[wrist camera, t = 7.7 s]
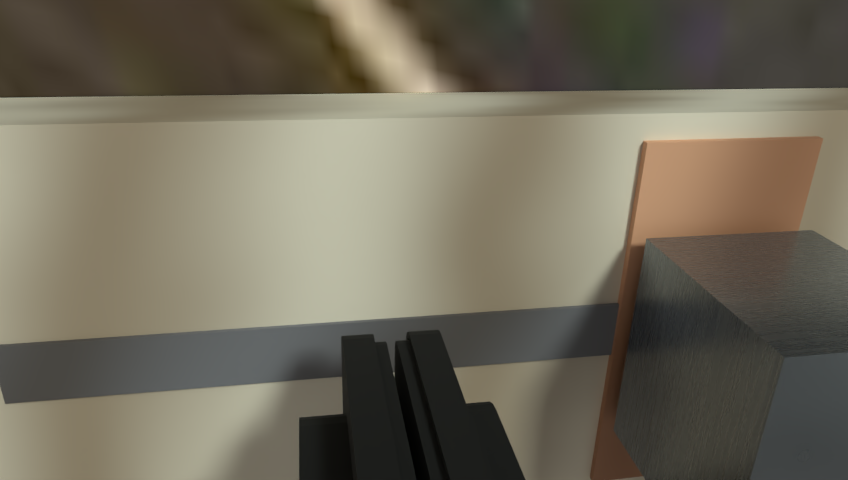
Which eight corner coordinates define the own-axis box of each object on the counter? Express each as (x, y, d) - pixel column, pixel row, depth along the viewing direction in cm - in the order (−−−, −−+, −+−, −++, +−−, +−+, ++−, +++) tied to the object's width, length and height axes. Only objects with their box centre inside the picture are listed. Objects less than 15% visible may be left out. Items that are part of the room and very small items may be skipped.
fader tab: (812, 230, 13) (1002, 338, 10) (760, 415, 15) (905, 564, 12) (646, 238, 13) (784, 357, 9) (613, 430, 15) (717, 592, 11)
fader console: (964, 86, 16) (1059, 108, 14) (853, 406, 19) (916, 459, 17) (-109, 99, 12) (-188, 131, 10) (6, 492, 16) (-35, 571, 14)
